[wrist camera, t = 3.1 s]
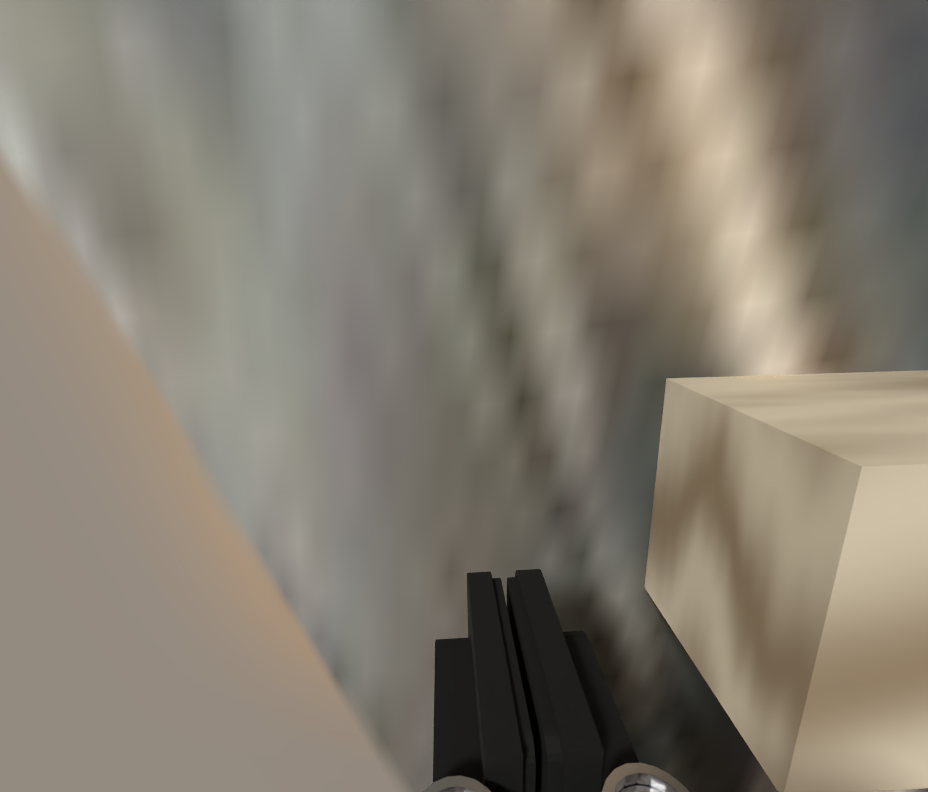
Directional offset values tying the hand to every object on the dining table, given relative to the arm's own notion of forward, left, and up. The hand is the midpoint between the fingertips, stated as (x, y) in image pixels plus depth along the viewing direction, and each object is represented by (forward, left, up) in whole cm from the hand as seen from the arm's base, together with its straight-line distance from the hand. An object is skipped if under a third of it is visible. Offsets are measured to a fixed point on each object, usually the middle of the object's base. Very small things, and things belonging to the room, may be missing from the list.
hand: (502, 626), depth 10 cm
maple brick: (0, +12, -6) cm, 13 cm away
